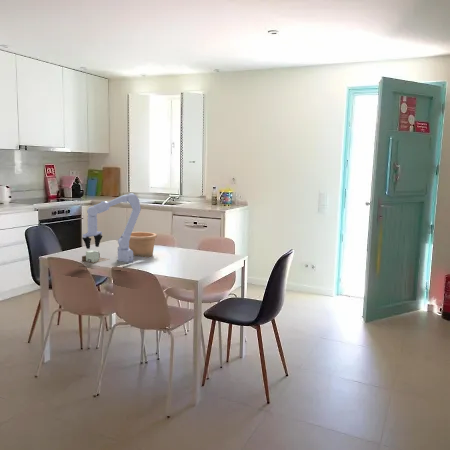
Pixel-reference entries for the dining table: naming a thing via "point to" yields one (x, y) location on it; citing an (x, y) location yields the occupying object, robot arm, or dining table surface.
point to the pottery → (142, 243)
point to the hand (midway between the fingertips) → (92, 247)
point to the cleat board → (93, 262)
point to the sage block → (92, 256)
